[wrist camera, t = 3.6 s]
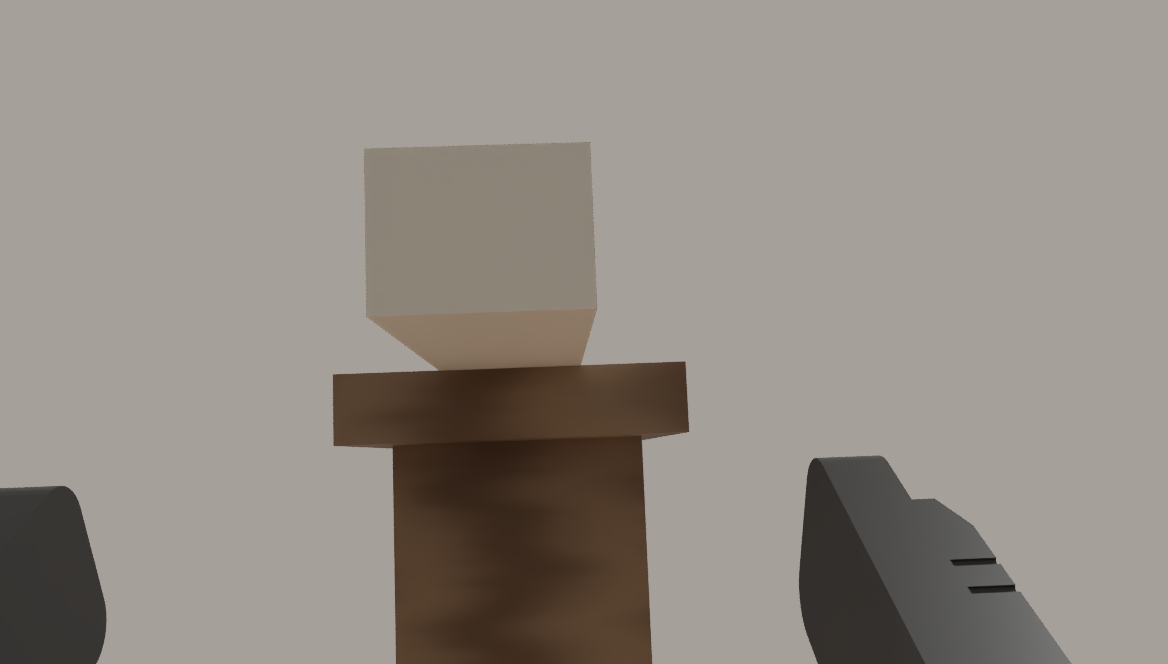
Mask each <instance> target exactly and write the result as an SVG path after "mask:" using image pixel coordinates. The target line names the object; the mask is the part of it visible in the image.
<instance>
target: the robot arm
mask: <svg viewBox="0 0 1168 664" xmlns="http://www.w3.org/2000/svg"><path fill="white" fill-rule="evenodd" d="M799 572H800V573H799V592H800V604H801V610H802V617H803V622H804V626H805V629H806V633H807V636H808V638H809V641H810V643H811V646H812V649H813V651H814V654H815V657H816V660H817V662H818V664H1071V663H1070V661H1069V660H1068V658H1067V657H1066V656H1065V654H1064V653H1063V651H1062V650H1061V649H1060V647H1059V646H1058V644H1057V643H1056V641H1055V640H1054V639H1053V637H1052V636H1051V634H1050V633H1049V632H1048V630H1047V629H1046V628H1045V626H1044V625H1043V623H1042V622H1041V620H1040V619H1039V618H1038V616H1037V615H1036V613H1035V612H1034V610H1033V609H1032V608H1031V607H1030V605H1029V603H1028V602H1027V601H1026V599H1025V598H1024V596H1023V595H1022V594H1021V592H1016V590H1015V584H1014V582H1013V581H1012V580H1011V578H1010V577H1009V576H1008V574H1007V573H1006V571H1005V570H1004V568H1003V567H1002V565H1001V564H997V563H996V557H995V556H994V554H993V553H992V551H991V550H990V549H989V547H988V546H987V545H986V543H985V542H984V540H983V539H982V537H981V536H980V535H979V533H978V532H977V530H976V529H975V528H974V526H973V525H971V524H970V523H969V522H967V521H966V520H964V519H963V518H962V517H960V516H959V515H957V514H956V513H954V512H953V511H952V510H950V509H948V508H947V507H945V506H944V505H943V504H941V503H940V502H939V501H937V500H935V499H916V500H912V499H911V498H910V496H909V495H908V493H907V492H906V490H905V489H904V487H903V485H902V484H901V482H900V481H899V479H898V478H897V476H896V474H895V473H894V471H893V470H892V468H891V467H890V465H889V463H888V462H887V461H886V460H885V458H884V457H882V456H857V457H834V458H815V459H813V460H812V462H811V463H810V466H809V469H808V475H807V485H806V497H805V509H804V522H803V535H802V546H801V559H800V571H799ZM105 632H106V607H105V601H104V597H103V594H102V590H101V586H100V582H99V578H98V574H97V570H96V566H95V562H94V558H93V554H92V551H91V547H90V543H89V539H88V535H87V532H86V528H85V523H84V520H83V516H82V512H81V508H80V505H79V502H78V500H77V498H76V496H75V494H74V493H73V492H72V491H71V490H70V489H69V488H67V487H65V486H50V487H25V488H0V664H96V663H97V661H98V659H99V657H100V654H101V651H102V647H103V644H104V639H105Z"/></svg>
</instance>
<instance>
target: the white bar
mask: <svg viewBox="0 0 1168 664" xmlns="http://www.w3.org/2000/svg"><path fill="white" fill-rule="evenodd" d="M590 151H591V150H590V142H579V143H545V144H544V143H543V144H512V145H511V144H509V145H475V146H442V147H441V146H439V147H406V148H371V149H364V173H365V249H366V250H365V251H366V317H368V318H369V319H370V320H372V321H373V322H374V323H376V324H377V325H378V326H380V327H381V328H383V329H384V330H385V331H386V332H388V333H389V334H391V335H392V336H393V337H395V338H396V339H397V340H399V341H400V342H401V343H403V344H404V345H405V346H407V347H408V348H410V349H411V350H412V351H414V352H415V353H416V354H418V355H419V356H420V357H422V358H423V359H424V360H426V361H427V362H429V363H430V364H431V365H433V366H434V367H435V368H437V369H438V370H439V371H445V370H472V369H499V368H526V367H554V366H581V362H582V358H583V355H584V352H585V349H586V345H587V342H588V338H589V335H590V331H591V328H592V324H593V321H594V318H595V314H596V311H597V294H596V270H595V248H594V247H595V246H594V222H593V198H592V174H591V153H590Z"/></svg>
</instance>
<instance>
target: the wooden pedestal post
mask: <svg viewBox="0 0 1168 664" xmlns="http://www.w3.org/2000/svg"><path fill="white" fill-rule="evenodd" d="M333 420H334V422H333V426H334V427H333V428H334V446H351V447H373V448H393V490H394V491H393V492H394V493H393V494H394V557H395V614H396V615H395V617H396V664H652V652H651V630H650V608H649V586H648V568H647V567H648V566H647V544H646V522H645V500H644V480H643V457H642V440H645V439H651V438H657V437H662V436H668V435H674V434H680V433H685V432H689V423H688V403H687V384H686V365H685V362H662V363H636V364H608V365H581V366H554V367H526V368H499V369H472V370H445V371H418V372H391V373H363V374H337V375H333Z"/></svg>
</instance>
